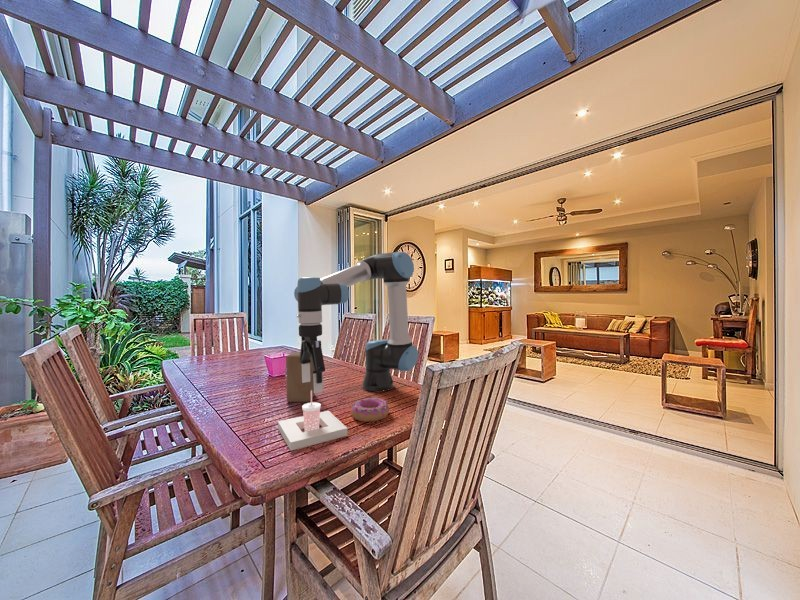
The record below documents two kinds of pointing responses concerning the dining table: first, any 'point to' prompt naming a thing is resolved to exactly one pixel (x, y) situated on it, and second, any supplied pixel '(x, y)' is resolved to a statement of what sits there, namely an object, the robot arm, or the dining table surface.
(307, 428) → the beverage cup
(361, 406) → the donut
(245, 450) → the dining table surface
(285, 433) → the socket plate
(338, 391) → the dining table surface
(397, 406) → the dining table surface
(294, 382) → the wooden block
